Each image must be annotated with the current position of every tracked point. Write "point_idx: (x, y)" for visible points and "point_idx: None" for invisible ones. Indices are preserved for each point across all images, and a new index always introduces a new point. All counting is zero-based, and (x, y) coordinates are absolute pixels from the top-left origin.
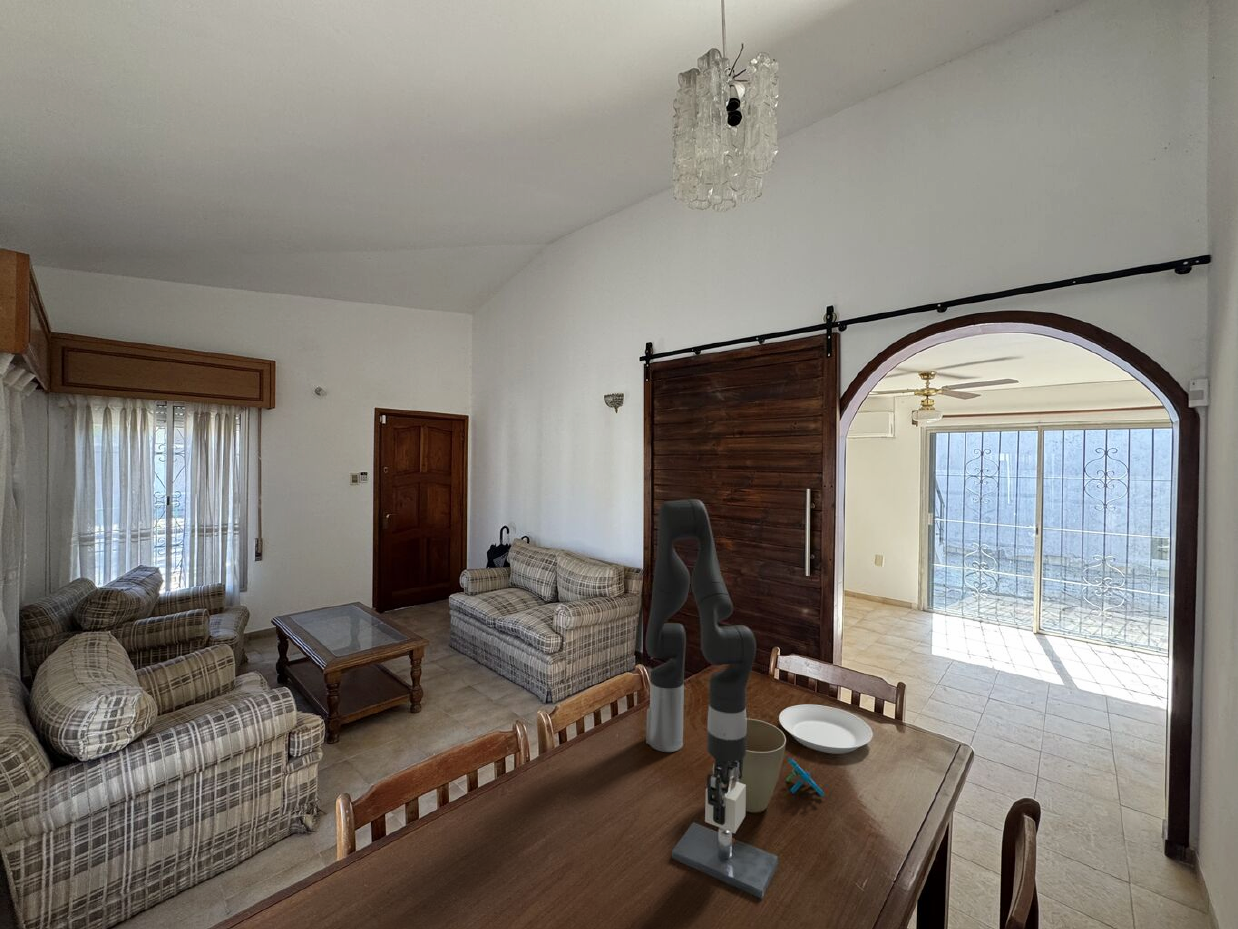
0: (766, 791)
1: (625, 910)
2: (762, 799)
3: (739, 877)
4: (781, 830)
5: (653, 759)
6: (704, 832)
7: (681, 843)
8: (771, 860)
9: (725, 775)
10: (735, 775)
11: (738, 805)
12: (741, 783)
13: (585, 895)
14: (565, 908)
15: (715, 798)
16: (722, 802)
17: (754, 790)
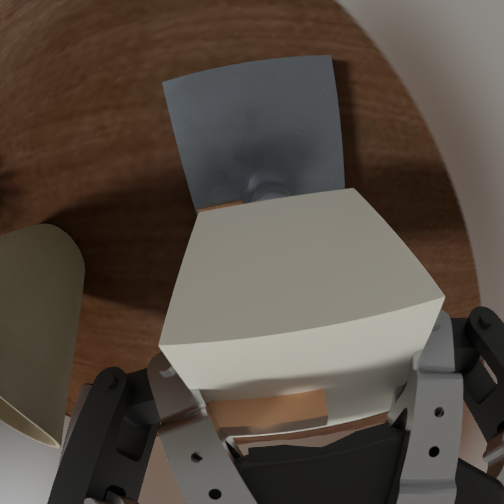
0: (18, 242)
1: (463, 262)
2: (38, 237)
3: (328, 125)
4: (60, 155)
5: None
6: None
7: None
8: (193, 85)
9: (481, 488)
10: (230, 456)
11: (343, 260)
12: (177, 369)
13: (452, 309)
14: (470, 308)
15: (462, 364)
16: (448, 331)
17: (42, 267)
